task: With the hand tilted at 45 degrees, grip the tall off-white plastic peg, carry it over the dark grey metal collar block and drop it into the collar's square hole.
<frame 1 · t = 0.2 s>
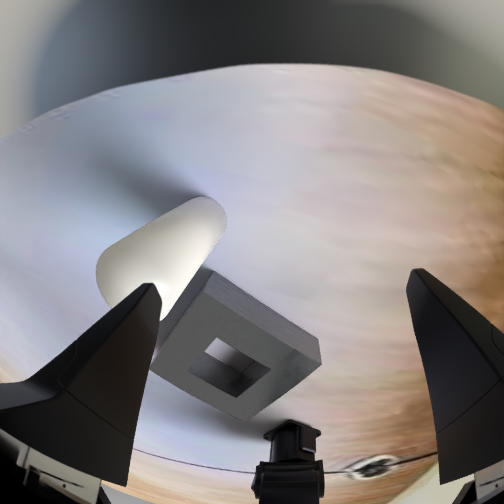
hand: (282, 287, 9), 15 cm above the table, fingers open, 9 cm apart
collar: (233, 346, 29), on the table
peg: (202, 220, 24), on the table
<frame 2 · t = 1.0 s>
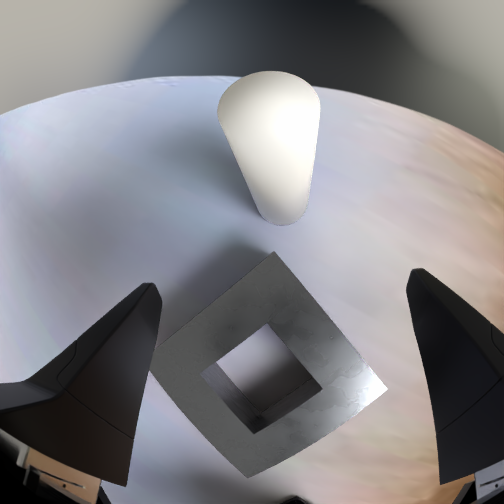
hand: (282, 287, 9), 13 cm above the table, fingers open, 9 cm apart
collar: (265, 368, 21), on the table
peg: (282, 200, 23), on the table
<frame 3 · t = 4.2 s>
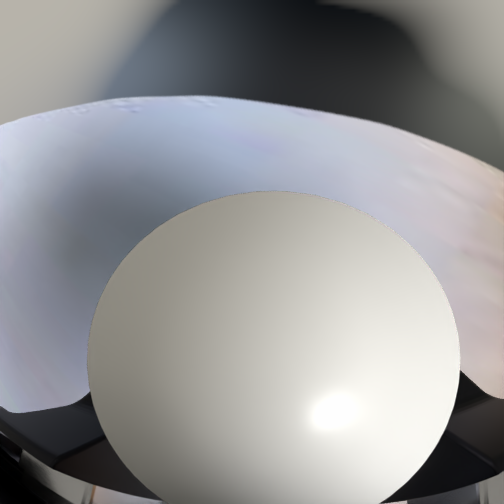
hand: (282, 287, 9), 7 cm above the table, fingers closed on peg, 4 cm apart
peg: (287, 315, 15), on the table, touching gripper
when the fingers open (8 cm above the table, at t = 8.7 s): peg drops 2 cm, resting in collar.
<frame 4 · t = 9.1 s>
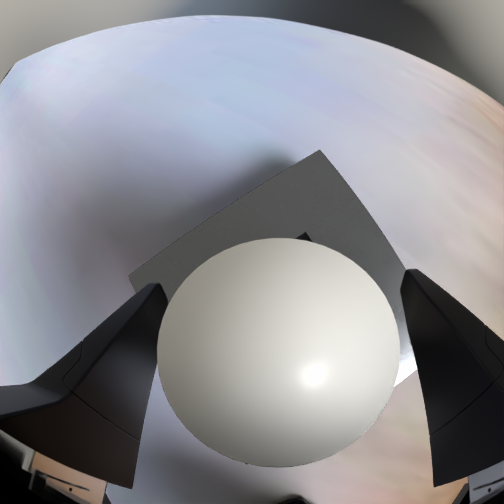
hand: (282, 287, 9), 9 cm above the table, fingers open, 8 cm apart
collar: (288, 312, 17), on the table
peg: (288, 313, 17), resting in collar
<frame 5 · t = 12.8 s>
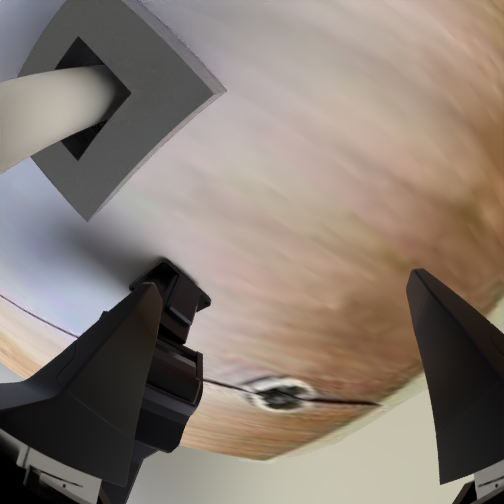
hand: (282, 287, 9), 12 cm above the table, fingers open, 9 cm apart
collar: (106, 91, 15), on the table
peg: (106, 91, 15), resting in collar
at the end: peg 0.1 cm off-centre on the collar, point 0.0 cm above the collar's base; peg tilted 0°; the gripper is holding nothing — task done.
